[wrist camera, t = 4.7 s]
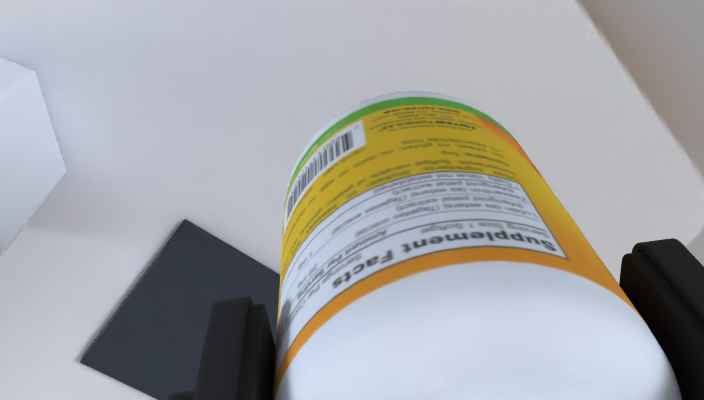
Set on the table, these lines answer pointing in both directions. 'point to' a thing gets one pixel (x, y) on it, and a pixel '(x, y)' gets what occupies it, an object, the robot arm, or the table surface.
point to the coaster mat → (178, 312)
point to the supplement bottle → (445, 270)
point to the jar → (24, 150)
